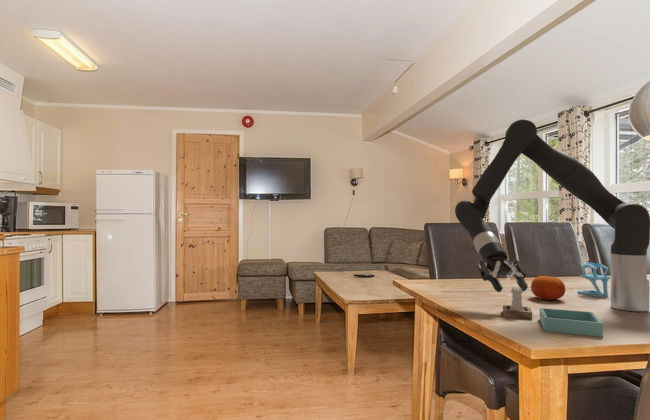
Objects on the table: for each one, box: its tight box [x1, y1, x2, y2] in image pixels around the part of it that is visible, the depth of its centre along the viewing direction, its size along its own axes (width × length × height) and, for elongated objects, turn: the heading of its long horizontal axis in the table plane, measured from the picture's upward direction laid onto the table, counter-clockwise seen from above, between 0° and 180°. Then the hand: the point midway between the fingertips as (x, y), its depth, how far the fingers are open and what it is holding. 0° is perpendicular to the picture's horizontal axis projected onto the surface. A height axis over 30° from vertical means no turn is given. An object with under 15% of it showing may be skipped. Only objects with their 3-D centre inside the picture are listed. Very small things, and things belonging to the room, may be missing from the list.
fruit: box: [530, 275, 566, 301], centre depth 144 cm, size 11×10×8 cm
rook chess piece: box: [509, 286, 525, 311], centre depth 121 cm, size 4×4×8 cm
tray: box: [539, 307, 604, 338], centre depth 108 cm, size 13×13×3 cm
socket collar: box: [502, 304, 533, 320], centre depth 121 cm, size 8×8×2 cm
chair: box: [576, 261, 611, 298], centre depth 152 cm, size 8×8×12 cm
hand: (512, 290), depth 123 cm, fingers open, 8 cm apart
